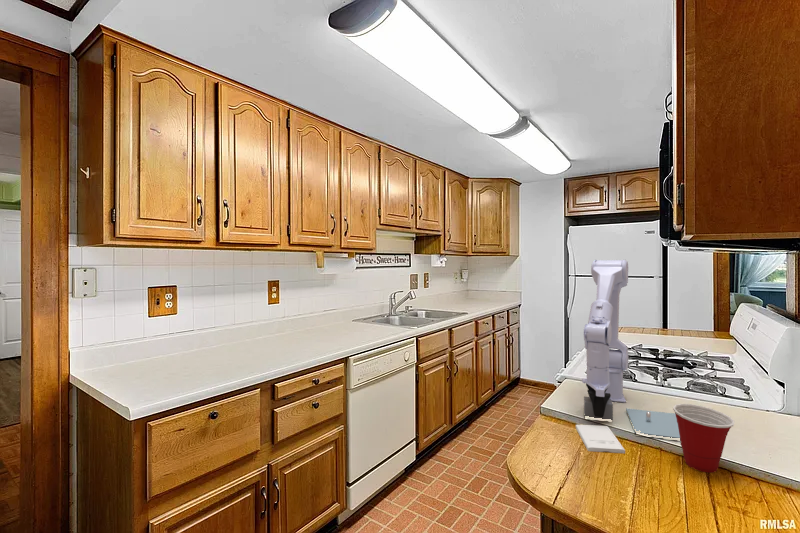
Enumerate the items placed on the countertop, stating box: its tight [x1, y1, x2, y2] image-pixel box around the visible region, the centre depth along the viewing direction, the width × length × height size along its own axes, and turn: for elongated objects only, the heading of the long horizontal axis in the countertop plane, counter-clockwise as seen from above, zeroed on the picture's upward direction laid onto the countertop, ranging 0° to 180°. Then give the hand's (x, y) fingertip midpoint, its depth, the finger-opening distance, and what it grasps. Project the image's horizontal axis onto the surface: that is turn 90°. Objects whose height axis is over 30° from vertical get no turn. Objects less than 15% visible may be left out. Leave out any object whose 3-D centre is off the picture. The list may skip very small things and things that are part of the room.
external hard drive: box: [575, 424, 626, 454], centre depth 101 cm, size 2×8×12 cm
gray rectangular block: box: [583, 396, 614, 421], centre depth 113 cm, size 4×7×5 cm, turn 68°
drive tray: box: [625, 407, 680, 438], centre depth 106 cm, size 16×18×4 cm
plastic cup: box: [672, 403, 735, 474], centre depth 88 cm, size 11×11×12 cm
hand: (597, 412), depth 113 cm, fingers closed on gray rectangular block, 4 cm apart
